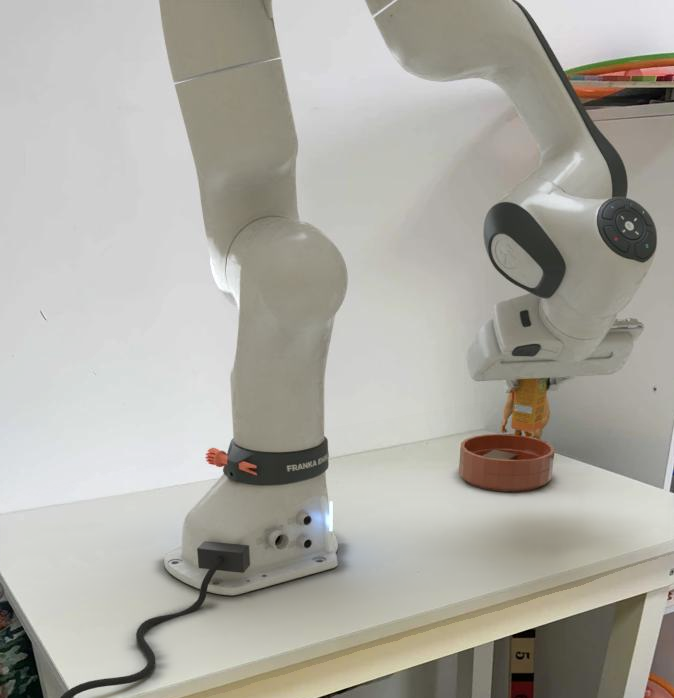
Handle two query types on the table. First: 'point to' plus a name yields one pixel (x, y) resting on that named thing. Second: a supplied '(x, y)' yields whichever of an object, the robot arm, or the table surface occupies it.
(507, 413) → the action figure
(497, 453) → the block
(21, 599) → the table surface
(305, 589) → the table surface
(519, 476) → the bowl
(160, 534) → the table surface
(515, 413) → the supplement box
